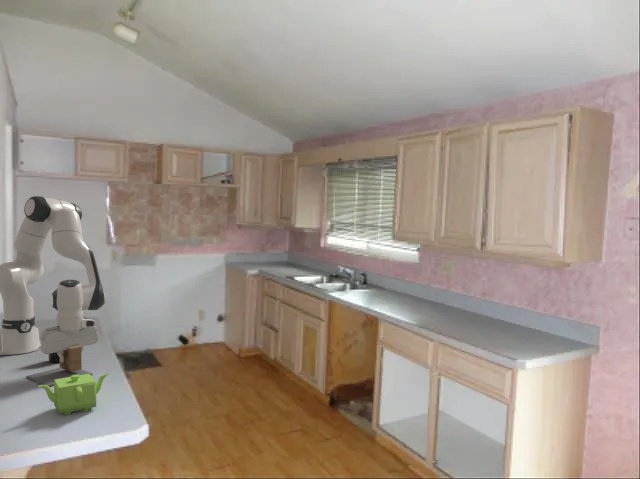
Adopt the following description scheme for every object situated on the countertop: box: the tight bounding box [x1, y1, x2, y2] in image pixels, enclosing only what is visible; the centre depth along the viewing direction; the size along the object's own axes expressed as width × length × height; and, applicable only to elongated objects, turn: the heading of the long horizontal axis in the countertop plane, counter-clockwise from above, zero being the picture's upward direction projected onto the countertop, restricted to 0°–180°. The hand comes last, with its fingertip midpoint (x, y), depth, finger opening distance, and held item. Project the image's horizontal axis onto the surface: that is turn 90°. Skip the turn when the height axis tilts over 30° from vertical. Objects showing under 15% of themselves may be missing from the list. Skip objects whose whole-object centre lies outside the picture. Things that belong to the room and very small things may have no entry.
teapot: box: [37, 373, 110, 416], centre depth 150 cm, size 15×13×11 cm
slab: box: [59, 345, 83, 372], centre depth 182 cm, size 8×4×9 cm, turn 55°
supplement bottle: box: [48, 352, 60, 364], centre depth 197 cm, size 7×7×12 cm
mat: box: [26, 367, 93, 388], centre depth 179 cm, size 16×16×1 cm
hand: (70, 360), depth 182 cm, fingers closed on slab, 4 cm apart
